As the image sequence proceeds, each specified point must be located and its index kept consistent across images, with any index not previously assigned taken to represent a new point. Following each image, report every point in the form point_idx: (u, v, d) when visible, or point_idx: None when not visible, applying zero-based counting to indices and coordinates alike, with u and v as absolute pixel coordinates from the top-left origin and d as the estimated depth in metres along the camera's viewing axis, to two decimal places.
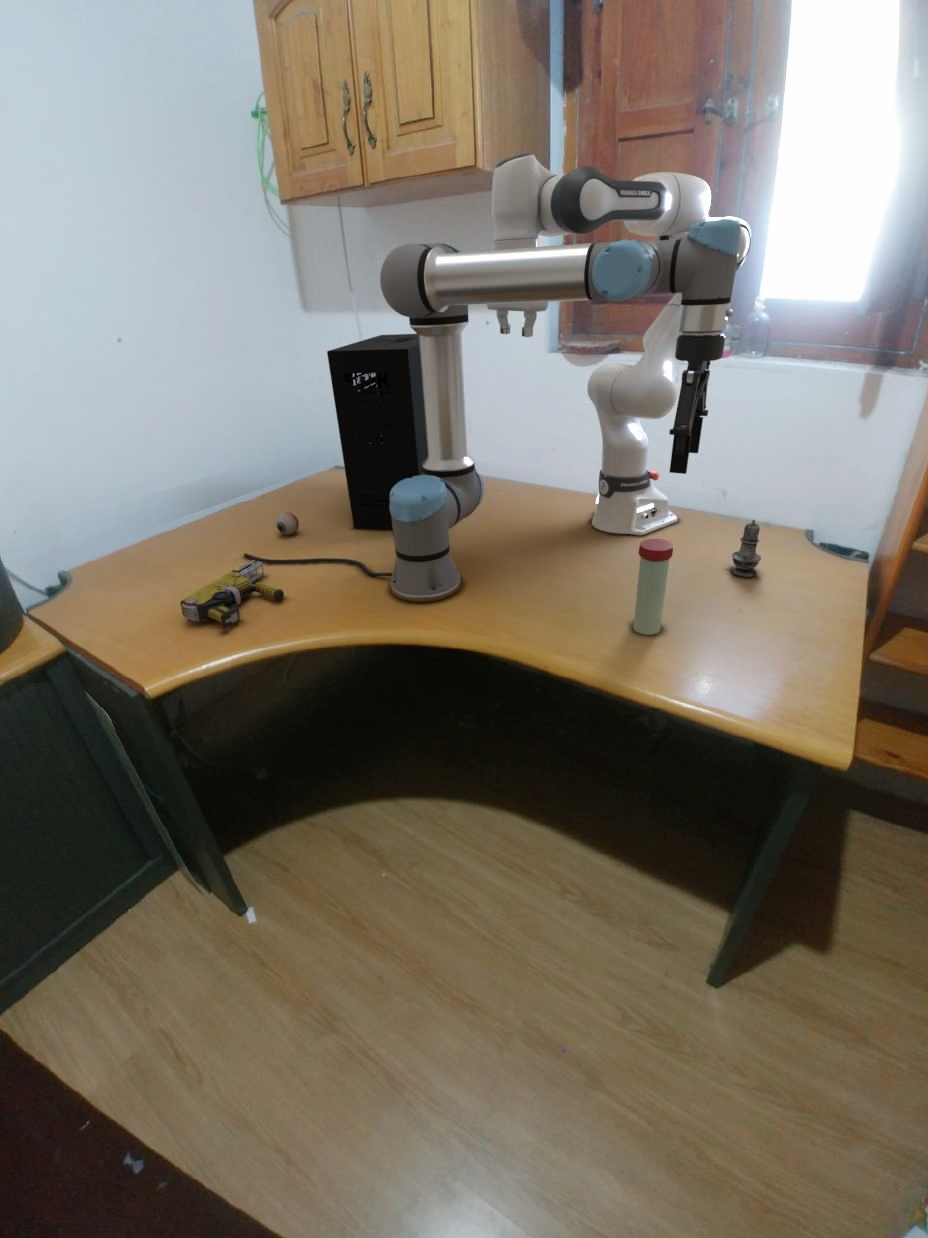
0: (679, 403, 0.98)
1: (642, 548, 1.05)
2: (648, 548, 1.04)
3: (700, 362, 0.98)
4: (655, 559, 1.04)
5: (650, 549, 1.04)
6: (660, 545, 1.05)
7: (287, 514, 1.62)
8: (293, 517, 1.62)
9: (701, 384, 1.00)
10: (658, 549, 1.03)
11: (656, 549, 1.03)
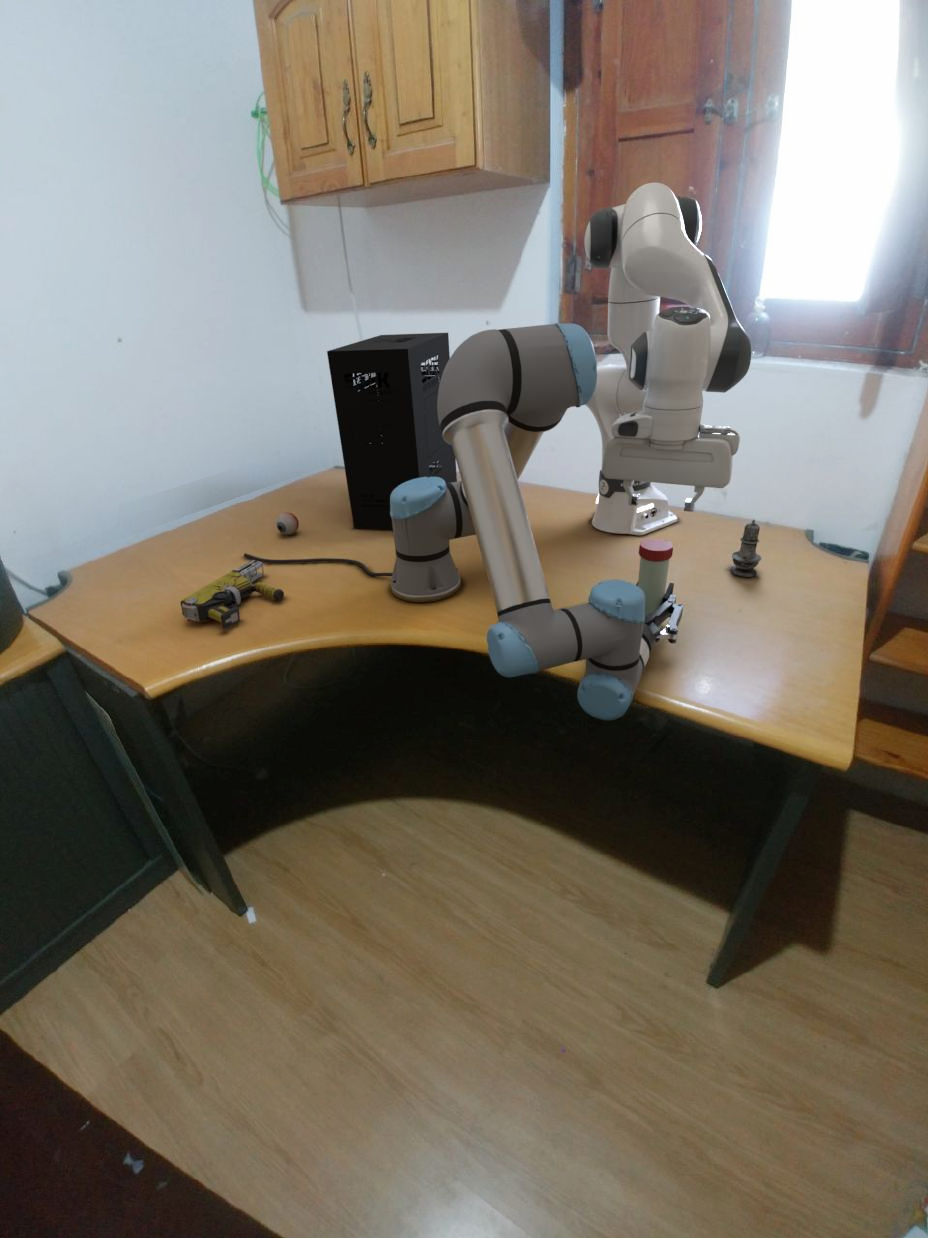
0: None
1: (642, 548, 1.05)
2: (648, 548, 1.04)
3: None
4: (655, 559, 1.04)
5: (650, 549, 1.04)
6: (660, 545, 1.05)
7: (287, 514, 1.62)
8: (293, 517, 1.62)
9: None
10: (658, 549, 1.03)
11: (656, 549, 1.03)
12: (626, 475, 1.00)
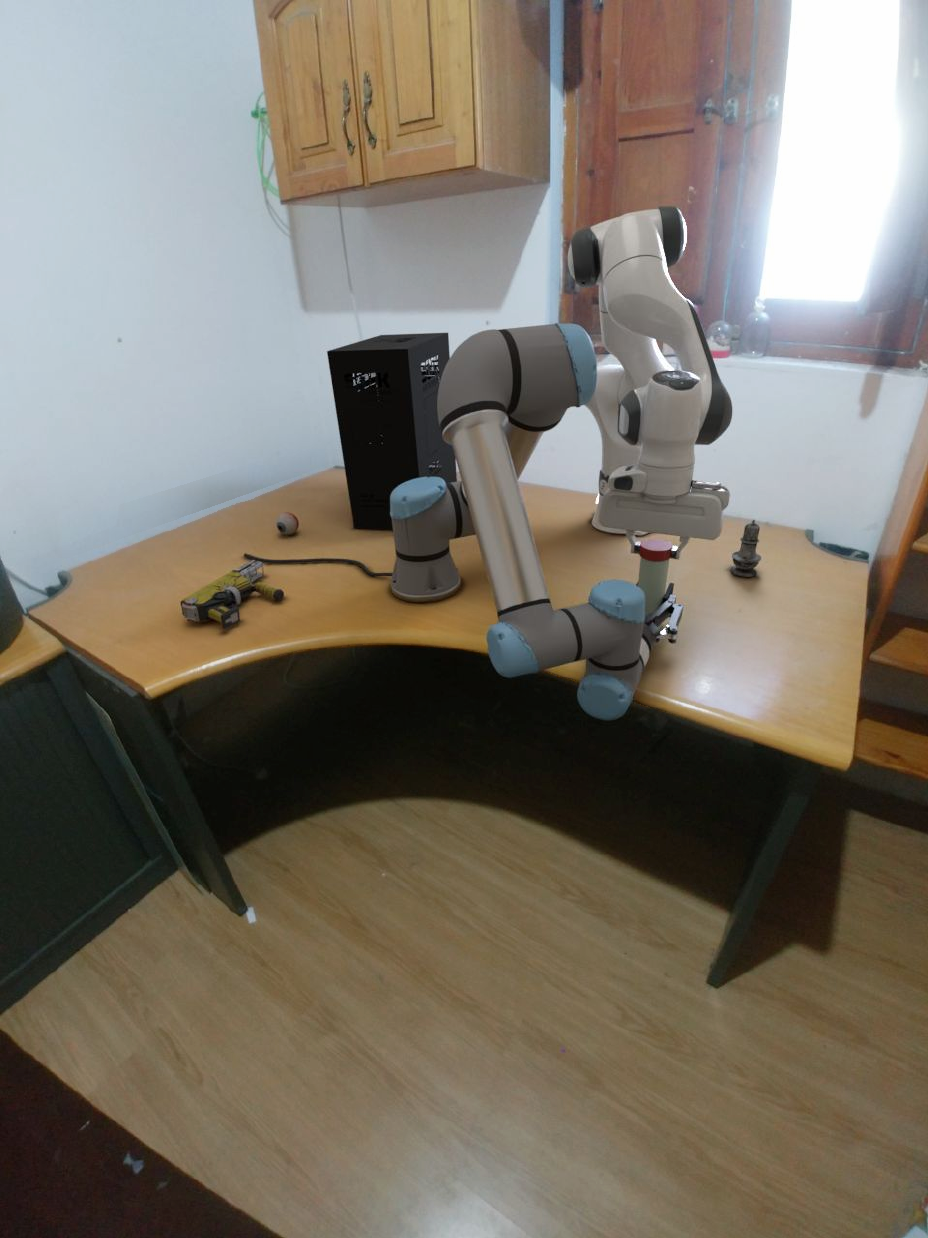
0: None
1: (642, 548, 1.05)
2: (648, 548, 1.04)
3: None
4: (655, 559, 1.04)
5: (650, 549, 1.04)
6: (660, 545, 1.05)
7: (287, 514, 1.62)
8: (293, 517, 1.62)
9: None
10: (658, 549, 1.03)
11: (656, 549, 1.03)
12: (622, 525, 1.04)
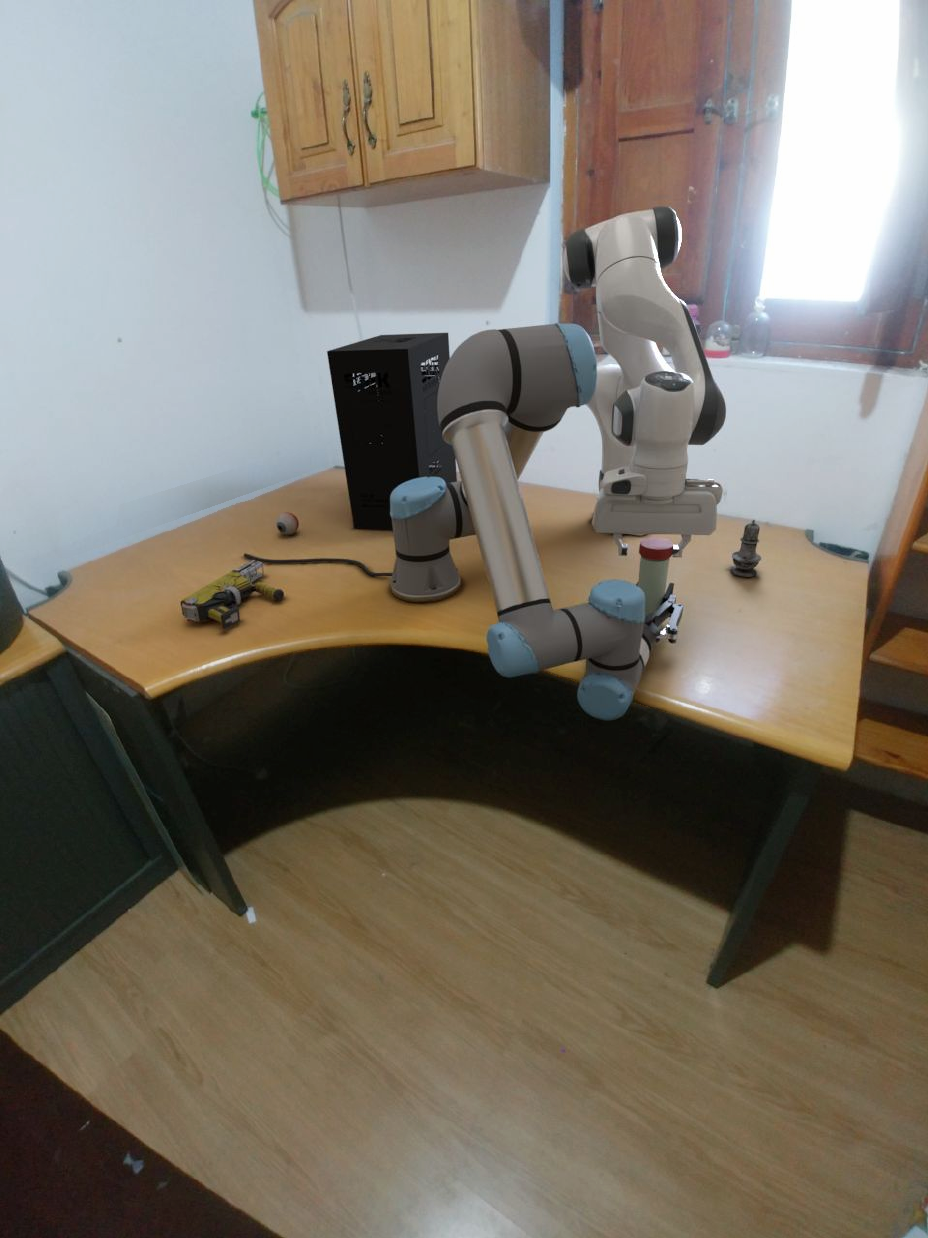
0: None
1: (664, 550, 1.03)
2: (668, 547, 1.03)
3: None
4: None
5: (670, 546, 1.04)
6: (658, 541, 1.05)
7: (287, 514, 1.62)
8: (293, 517, 1.62)
9: None
10: (669, 543, 1.05)
11: (669, 544, 1.04)
12: (617, 529, 1.03)
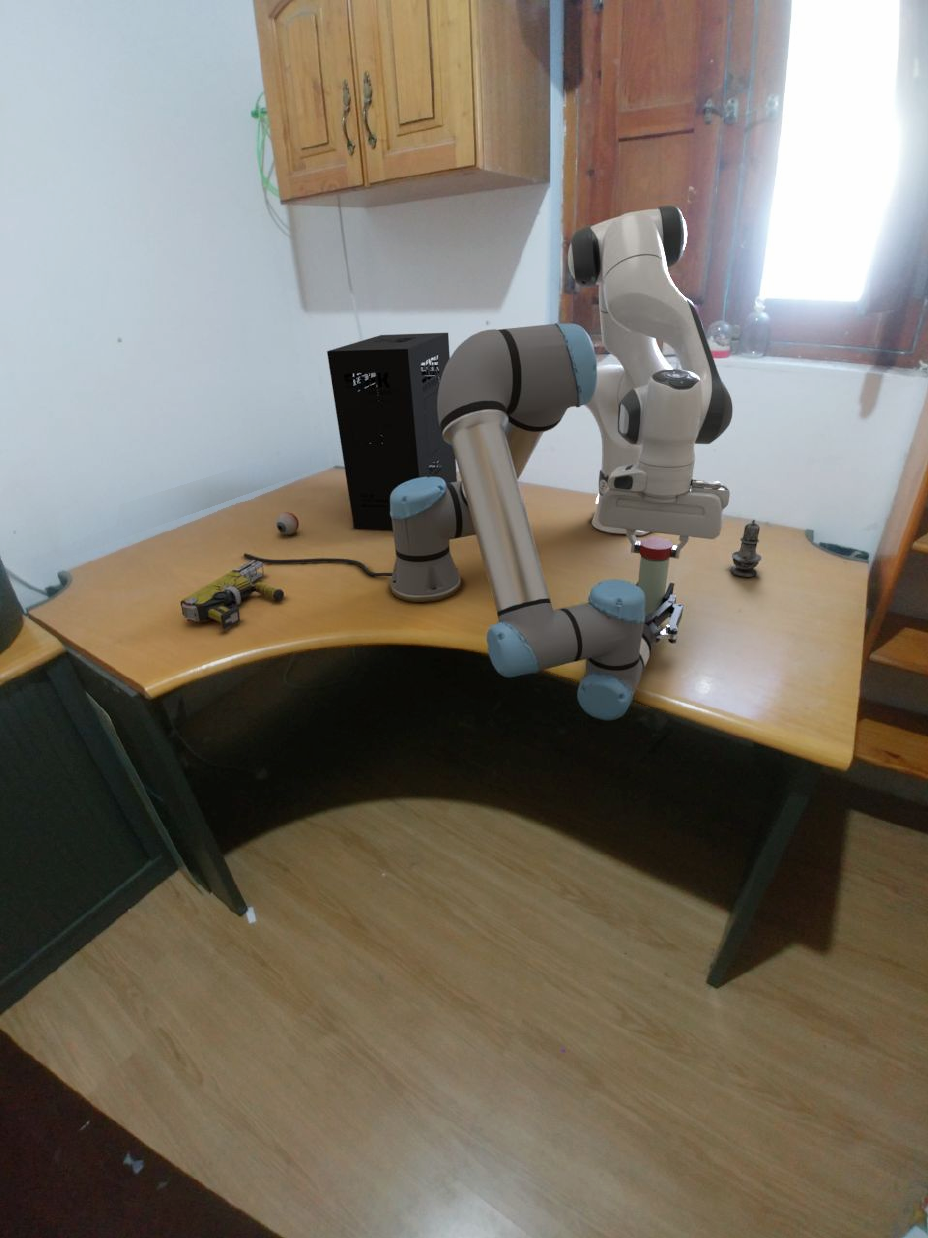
0: None
1: (664, 550, 1.03)
2: (668, 547, 1.03)
3: None
4: None
5: (670, 546, 1.04)
6: (658, 541, 1.05)
7: (287, 514, 1.62)
8: (293, 517, 1.62)
9: None
10: (669, 543, 1.05)
11: (669, 544, 1.04)
12: (621, 524, 1.04)
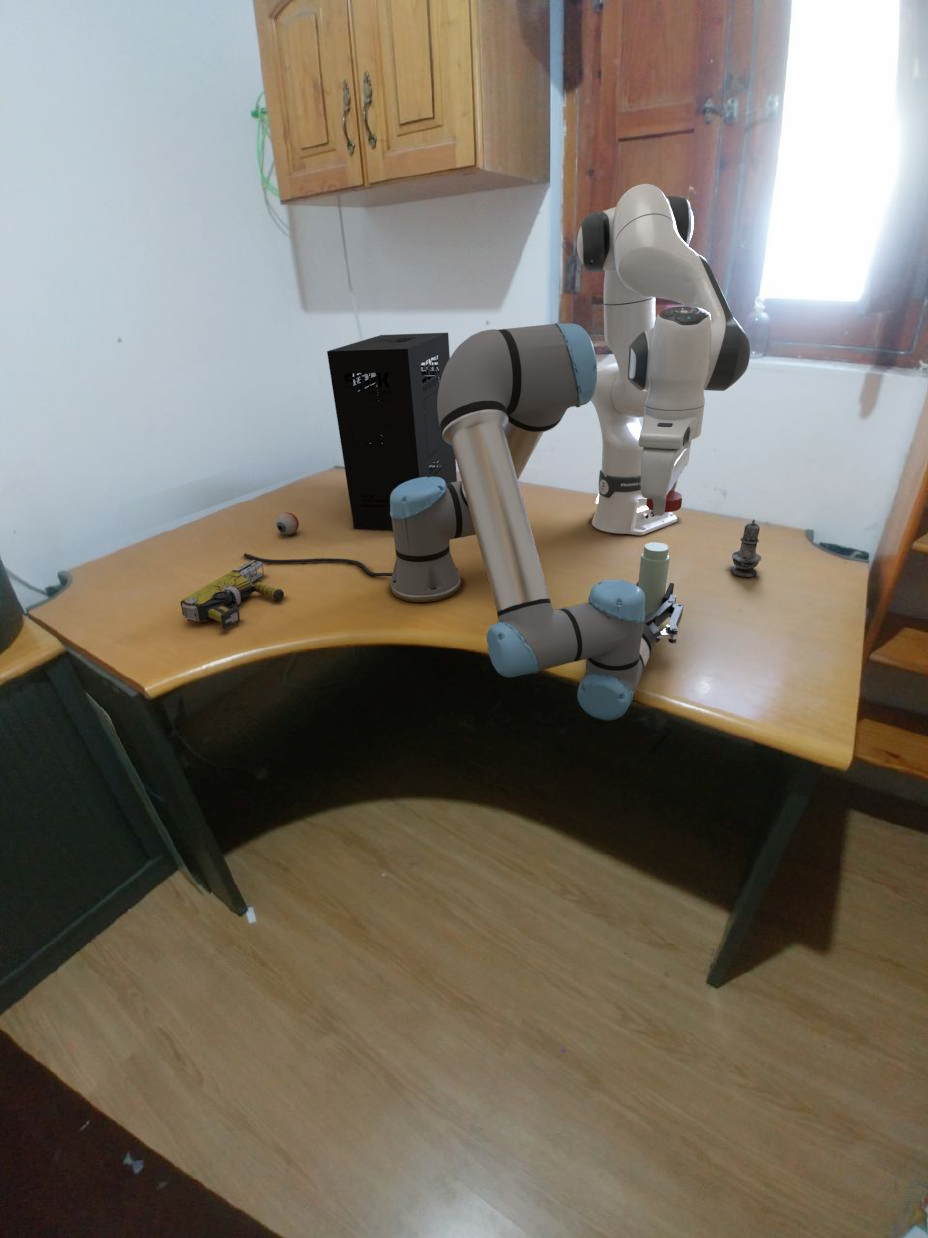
0: None
1: None
2: (673, 491, 1.02)
3: None
4: None
5: (671, 491, 1.02)
6: None
7: (287, 514, 1.62)
8: (293, 517, 1.62)
9: None
10: None
11: None
12: (670, 487, 0.94)
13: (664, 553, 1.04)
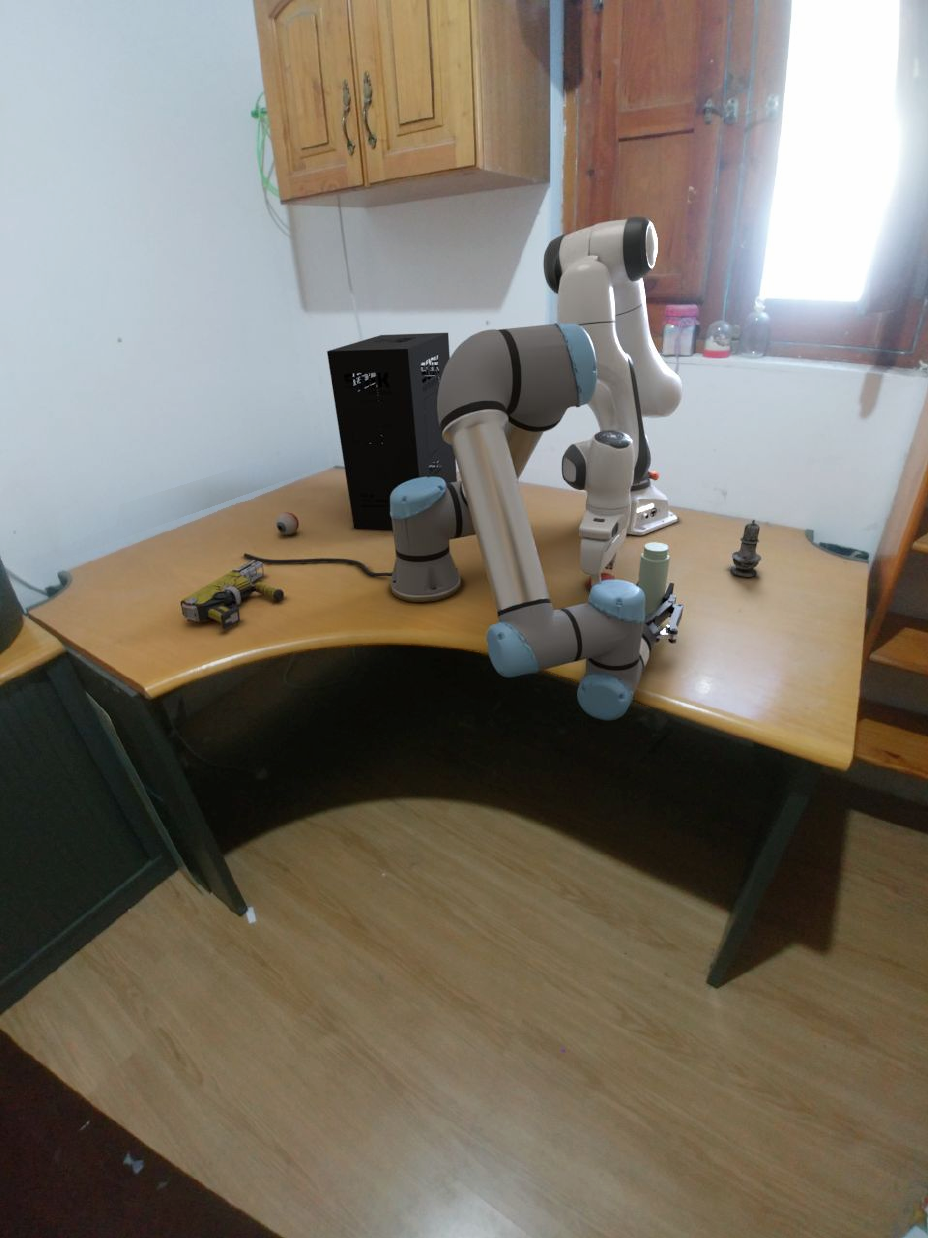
0: None
1: None
2: (609, 575, 1.29)
3: None
4: None
5: (608, 574, 1.30)
6: None
7: (287, 514, 1.62)
8: (293, 517, 1.62)
9: None
10: (602, 573, 1.30)
11: (603, 573, 1.30)
12: (605, 565, 1.20)
13: (664, 553, 1.04)
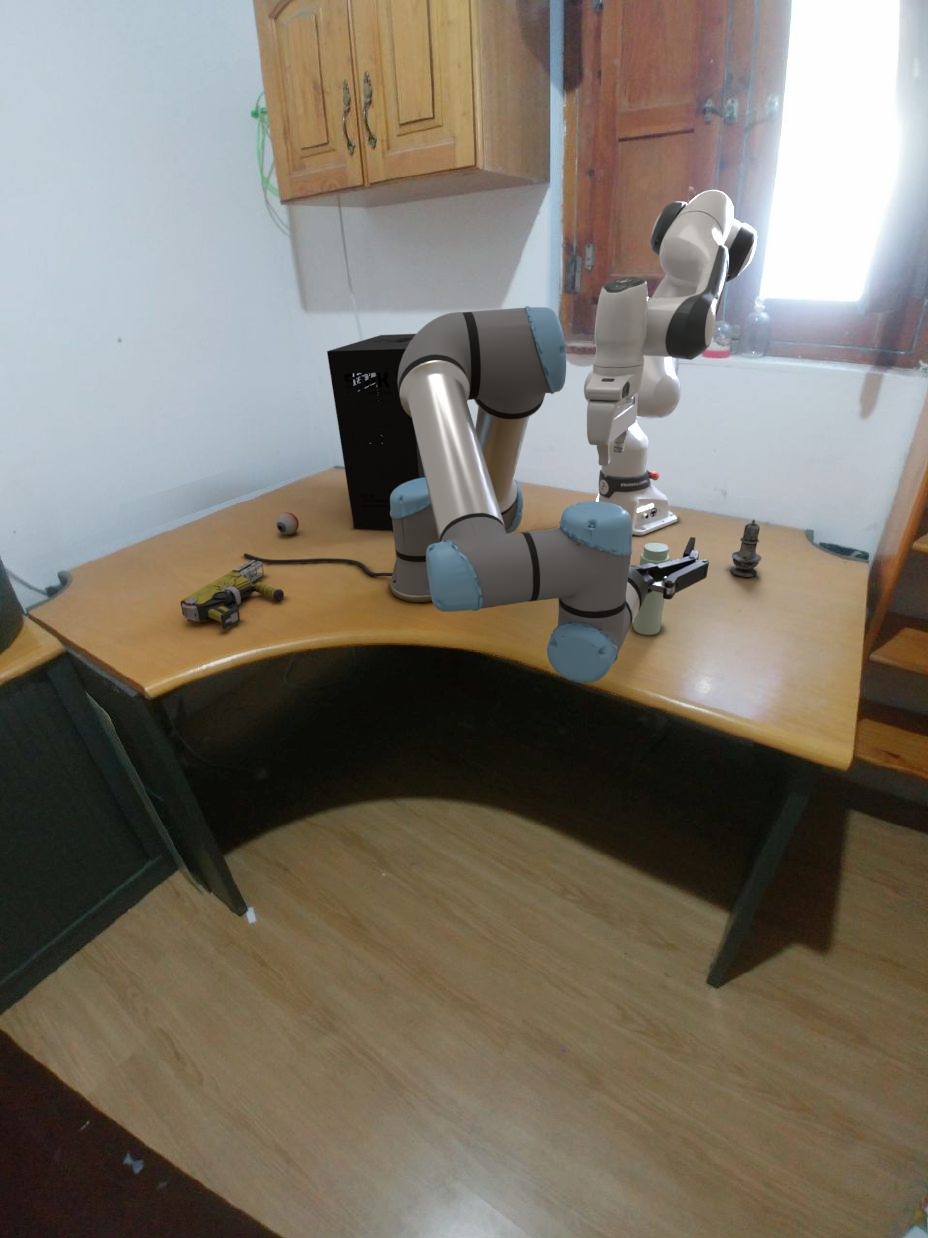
0: None
1: None
2: None
3: None
4: None
5: None
6: None
7: (287, 514, 1.62)
8: (293, 517, 1.62)
9: None
10: None
11: None
12: (614, 436, 1.08)
13: (664, 553, 1.04)
